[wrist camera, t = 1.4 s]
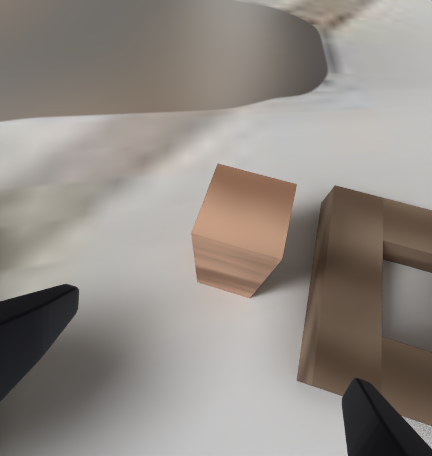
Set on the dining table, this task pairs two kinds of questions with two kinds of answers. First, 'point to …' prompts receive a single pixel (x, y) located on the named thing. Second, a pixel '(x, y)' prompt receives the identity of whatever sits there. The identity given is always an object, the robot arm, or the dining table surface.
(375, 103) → the dining table surface
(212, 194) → the terracotta peg
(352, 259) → the walnut hole board
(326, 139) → the dining table surface
